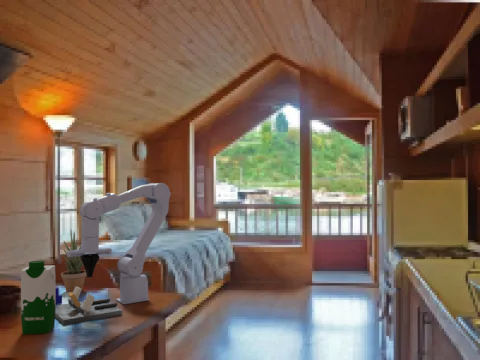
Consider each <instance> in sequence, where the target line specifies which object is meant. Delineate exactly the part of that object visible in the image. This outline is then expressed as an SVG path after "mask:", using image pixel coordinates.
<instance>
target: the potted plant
mask: <svg viewBox="0 0 480 360" xmlns="http://www.w3.org/2000/svg"><path fill="white" fill-rule="evenodd" d="M63 243H64V246H65V248H66V250H65V249H63V251H64V253H62V255H63V258H64V259H65V261H64V264H65V265H64V267H65V268H66V270H67V271H63V272H61V273H60V278H61V279H62V281H63V283H64V288H65V291H66V293H70V292H72V293H73V291H74V289H75V286H76V287H79V288H81V289H82V290H81V292H82V291H83V288H84V284H85V280H86V277H87V276H86V271H85V269H84V270H82V268H83V267H84V264H83V262H82V260H81V258H80V256H74V257H67V251H71V250H80V249H81V245H80V247H79V248H78V239H76V232H75V231H73V233H72V230H70V245H71V246H70V247H69V246H68V244H67V243H66V240H63Z"/></svg>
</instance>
